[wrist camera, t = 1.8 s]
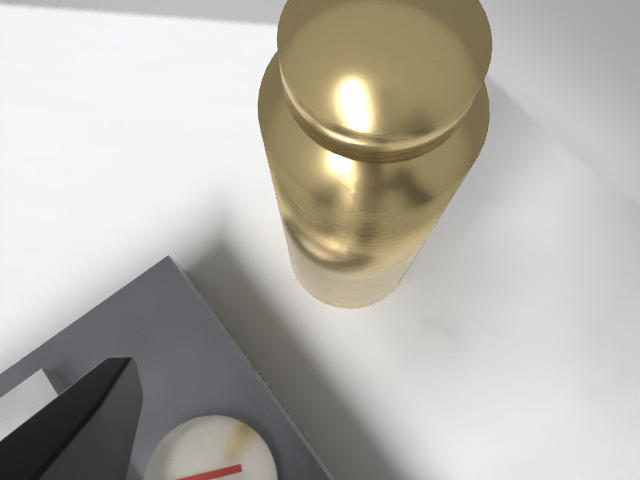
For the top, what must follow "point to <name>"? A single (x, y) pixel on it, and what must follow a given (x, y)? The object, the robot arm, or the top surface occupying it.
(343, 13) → the weight
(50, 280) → the top surface
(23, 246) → the top surface
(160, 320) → the scale
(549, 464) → the top surface
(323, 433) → the top surface
